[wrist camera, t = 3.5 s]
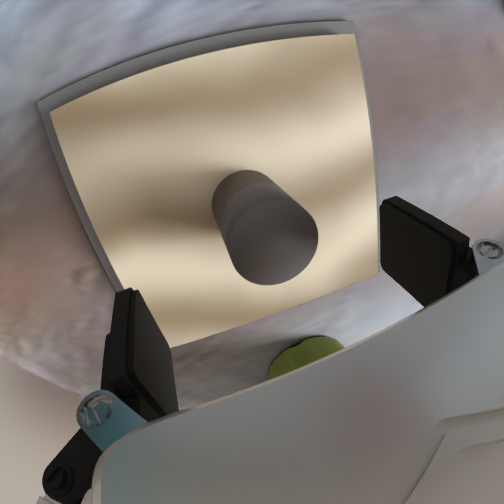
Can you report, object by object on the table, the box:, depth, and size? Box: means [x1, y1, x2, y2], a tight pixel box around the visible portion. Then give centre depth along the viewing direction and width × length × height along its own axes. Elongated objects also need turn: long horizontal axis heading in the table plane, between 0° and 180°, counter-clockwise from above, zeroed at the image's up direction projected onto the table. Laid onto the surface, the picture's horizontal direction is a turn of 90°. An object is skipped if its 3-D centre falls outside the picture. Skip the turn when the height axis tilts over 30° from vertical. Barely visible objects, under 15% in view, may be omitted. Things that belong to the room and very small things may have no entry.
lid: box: [50, 34, 378, 348], centre depth 15 cm, size 16×16×6 cm
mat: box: [37, 21, 380, 292], centre depth 18 cm, size 18×18×1 cm
